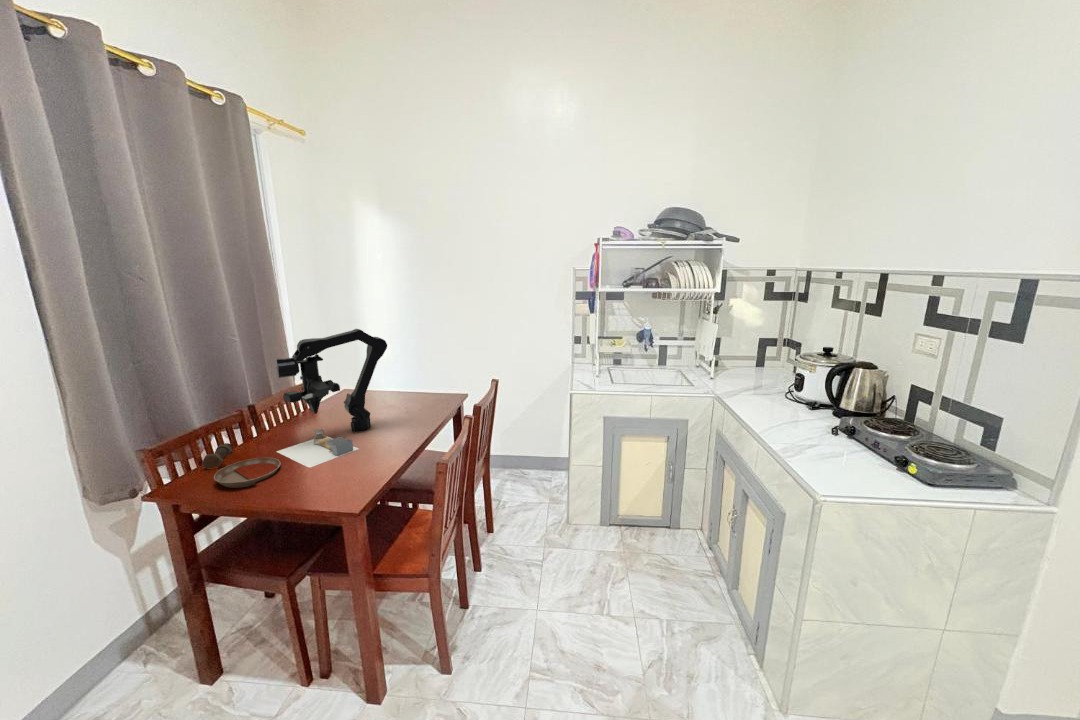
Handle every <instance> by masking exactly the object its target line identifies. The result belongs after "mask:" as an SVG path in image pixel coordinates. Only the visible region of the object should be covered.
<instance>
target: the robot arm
mask: <svg viewBox="0 0 1080 720" xmlns="http://www.w3.org/2000/svg"><path fill="white" fill-rule="evenodd" d="M355 341H360V342H361V343H364V344H366V345H367V346H366V355H365V356H366V357H365V361H364V363H363V366H362V368H361V371H360V374H359V377H358V379H357V382H356V385H355V387H354V389H353V391H352V392H351V393H346V398H345V400H344V401H343V404H344V409H345V411H346V412H347V413H349V415H351V416H352V417H351V422H350V426H351V427H350V428H351V432H352V433H359V432H361V433H362V432H365V431H368V430H370V428H371V427H372V424H371V412H370V411H369V410H368V409H367V408H365V406H366V394H367V391H368V387H369V385H370V383H371V380H372V377H373V374H374V372H375V369H376V366H377V364H378V361H379V360H380V359H381V358H382V357H383V356H384V354H385V352H386V350H387V348H388V344H387V342H386V340H385V339H383V338H381V337H379V336H373V335H370V334H368V333H366V332H365V331H364V330H362V329H359V328H354V329H352V330H348V331H344V332H342V333H338V334H334V335H330V336H326V337H325V336H324V337H318V338H317V337H314V338H313V337H312V338H304V339H301V340H299V341H298V342H297V345H296V350H295V352H294V353H293V355H292V356H291V357H287V358H285V357H284V358H276V359H275V361H276V368H275V369H276V373H277V374H276V375H277V377H278V379H282V378H288V377H289V378H290V377H297V374H298V375H299V373H301V376H299V377H300V380H301V381H302V386H301V391H296V390H291V391H286V392H284V394H283V395H282V398H283V401H284V402H287V403H289V404H291V403H296V402H301V401H302V400H303V401H304V402H305V403H306V404H307V406H308V407H309V409H310V410H311V412H312V413H313V414H314V415H317V414H318V412H319V408H320V404H321V401H322V399H323V398H325V397H327V395H329V394H330V393H329V392H332V393H336V392H340V391H341V385H340V384H339V383H338V382H333V380H332V379H328V380H324V381H323V379H322V375H320V372H319V365H318V362H322V361H323V360H324V358H323V357H322V356H320V355H319V354H320V353H321V352H323V351H325V350H327V349H329V348H333V347H337V346H341V345H344V344H349V343H352V342H355ZM299 366H300V367H299Z"/></svg>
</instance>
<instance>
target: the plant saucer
mask: <svg viewBox="0 0 1080 720" xmlns="http://www.w3.org/2000/svg"><path fill="white" fill-rule="evenodd" d="M257 464H271V465H274V466H276V468H275V469H274V470H272V471H270V472H269V473H266V474H264V475H261V476H258V477H255V478H252V479H250V478H249V477H246V476H245V475H243V474H241V473H240V472H238V471H237V469H240V468H243V467H247V466H251V465H257ZM280 467H281V461H280V460H279V459H278V458H274V457H255V458H249V459H245V460H241V461H237V462H234V463H232V464H229V465H227V466H224V467H222V468H221V469H219V470H217V471H216V473H215V474H214V476H213V479H214V481H215V482H217V483H218V484H220V485H221V486H224V487H226V488H235V489H237V488H245V487H250V486H254V485H257V483H258V482H260V481H264V480H265V479H268V478H270V477H272V476H273V475H275V473H276V472H278V470H279V468H280Z"/></svg>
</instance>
